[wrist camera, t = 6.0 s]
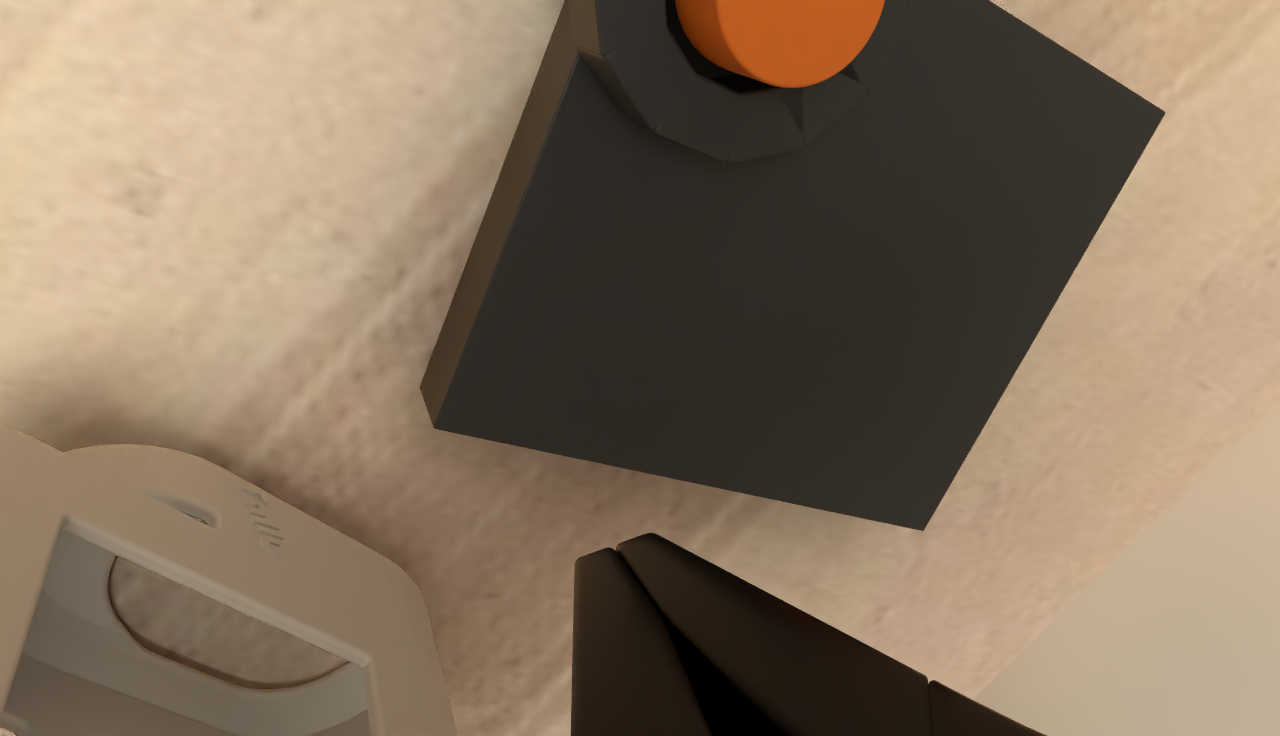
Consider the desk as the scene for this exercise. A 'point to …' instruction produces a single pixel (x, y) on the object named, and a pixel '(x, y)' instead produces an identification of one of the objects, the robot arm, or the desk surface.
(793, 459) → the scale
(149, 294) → the desk surface
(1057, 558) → the desk surface
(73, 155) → the desk surface
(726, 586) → the robot arm
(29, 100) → the desk surface
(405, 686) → the beige plastic holder
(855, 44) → the button
